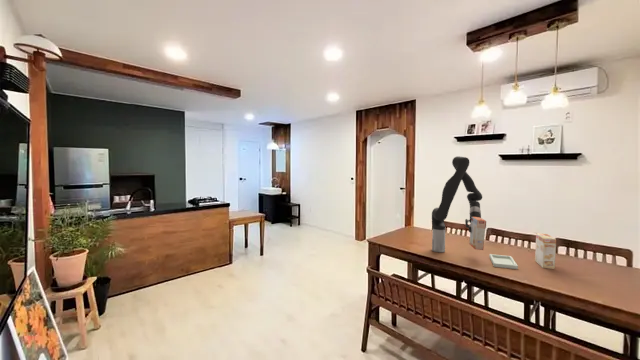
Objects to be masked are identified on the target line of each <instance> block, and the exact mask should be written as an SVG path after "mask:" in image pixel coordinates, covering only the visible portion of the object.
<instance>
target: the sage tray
mask: <svg viewBox="0 0 640 360" xmlns="http://www.w3.org/2000/svg"><path fill="white" fill-rule="evenodd" d="M488 257H489V259H490V261H491V263H492V266H493V267H494V268H501V269H502V268H503V269H504V268H505V269H511V270H513V269H514V270H518V269H519V265H518V264H517V262H516V261H515V260H514V258H513V256H511V255H501V254H492V253H489V255H488Z"/></svg>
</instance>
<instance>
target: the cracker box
mask: <svg viewBox="0 0 640 360" xmlns="http://www.w3.org/2000/svg"><path fill="white" fill-rule="evenodd" d="M470 224H471V233H470V232H469V243H468V244H469V246H471V247H472V248H473V249H474V250H477V251H478V250H479V251H484V247H485V245H484V244H485V237H486V236H485V235H486V229H485V226H486V227H487V221H486V220H485V219H483V218H482V217H481V218H480V217H471V223H470Z"/></svg>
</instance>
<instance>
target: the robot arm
mask: <svg viewBox="0 0 640 360" xmlns="http://www.w3.org/2000/svg"><path fill="white" fill-rule="evenodd" d="M451 164H452V167H453V168H454V170H455V172H454V174H453V175H452V176H451V177H450V178H449V179H448V180H447V181H446V182H445V185H444V187H443V190H442V193H441V201H440V204H439V206H438V207H435V208H434V209H432V211H431V226H432V234H431V236H432V238H431V252H435V253H445V252H446V225H445V220H446V219H447V218H448V215H449V211H450V207H451V204H452V202H453V200H454V198H455V196H456V194H457V191H458V190H459V189H458V188H459V186H460V184H461V182H462V184H463V185H464V187H465V189H466V192H467V193H468V194H467V195H466V199H467V201H468V204H469V219H467V218H466V219H465V221H464V222H465V228H467V229H468V232H469V234H470V233H471V217H480V218H482V211H481V203H480V202H479V201H482V199H483V194H482V193H481V192H480V190H479V189H478V188H477V187H476V184H475V182H474V179H473V178H472V176H471V175H469V173H468V172H467V170H468V168H469V166H470V159H469V157H466V156H455V157H453V158H452V162H451ZM469 223H470V224H469ZM486 229H487V225H486V226H485V230H486Z"/></svg>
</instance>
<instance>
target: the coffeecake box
mask: <svg viewBox="0 0 640 360" xmlns="http://www.w3.org/2000/svg"><path fill="white" fill-rule="evenodd" d="M556 247H557V239H556V238H555V237H554V236H551V235H550V234H548V233H536V234H535V253H534V262H536V263H537V264H538V265H539V266H540V267H541V268H542V269H550V270H551V269H553V270H556V249H557V248H556Z"/></svg>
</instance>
